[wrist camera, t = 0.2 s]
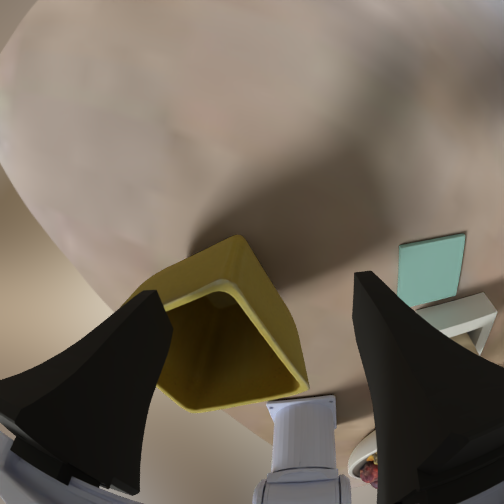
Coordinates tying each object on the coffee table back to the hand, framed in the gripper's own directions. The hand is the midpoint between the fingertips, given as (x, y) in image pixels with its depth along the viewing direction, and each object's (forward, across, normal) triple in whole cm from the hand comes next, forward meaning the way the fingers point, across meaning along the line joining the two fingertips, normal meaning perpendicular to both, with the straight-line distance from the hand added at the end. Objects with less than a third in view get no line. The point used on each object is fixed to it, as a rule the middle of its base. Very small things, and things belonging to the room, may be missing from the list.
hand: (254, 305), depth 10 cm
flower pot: (+10, +4, +5) cm, 12 cm away
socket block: (+10, -16, +15) cm, 24 cm away
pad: (+10, -12, +7) cm, 17 cm away
